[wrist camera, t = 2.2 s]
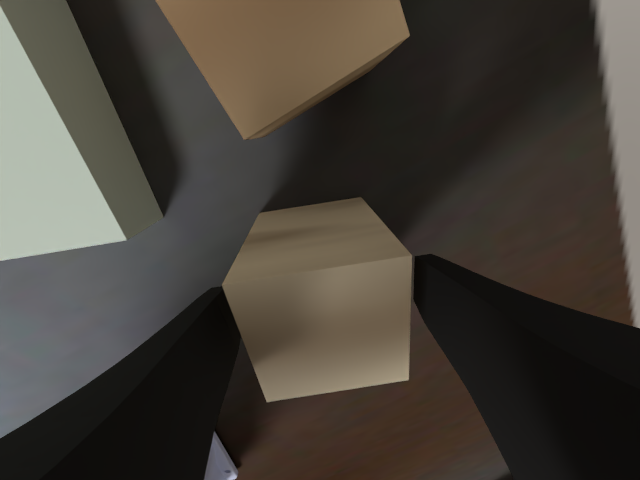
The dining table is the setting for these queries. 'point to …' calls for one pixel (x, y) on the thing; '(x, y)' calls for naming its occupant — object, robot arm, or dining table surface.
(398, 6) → the oak block
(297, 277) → the maple block
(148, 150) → the dining table surface
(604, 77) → the dining table surface
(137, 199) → the plinth block
